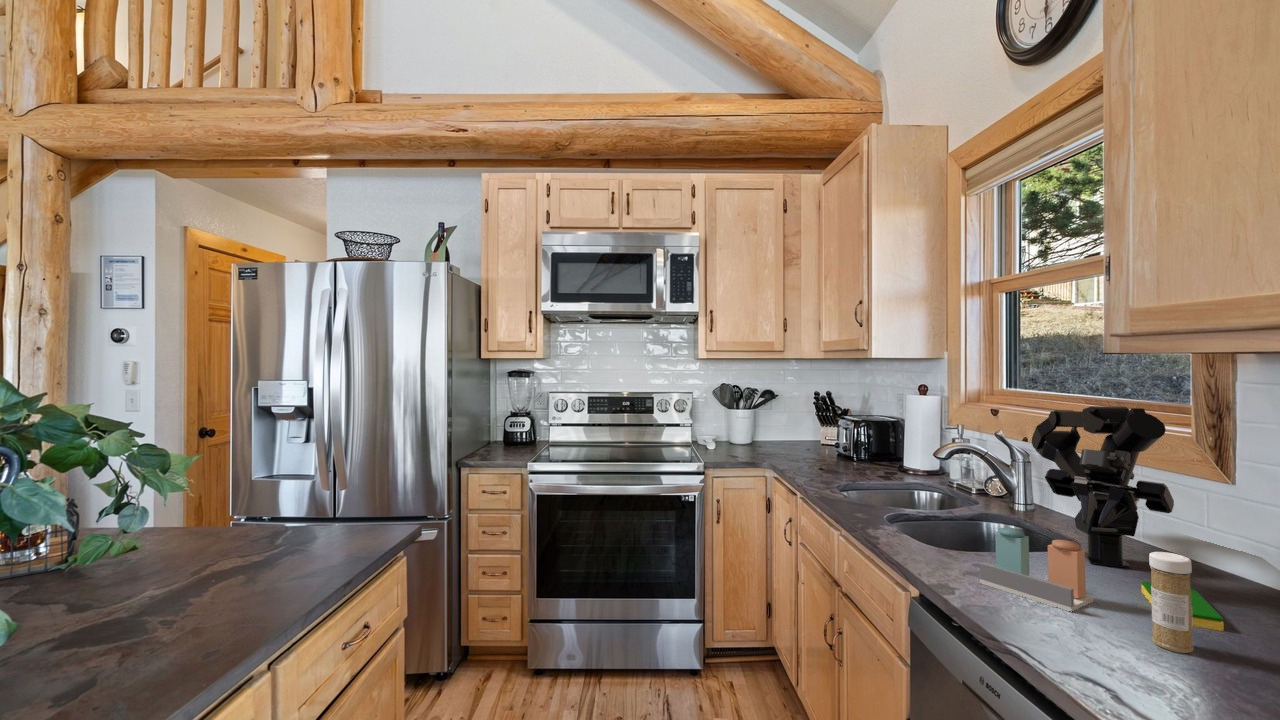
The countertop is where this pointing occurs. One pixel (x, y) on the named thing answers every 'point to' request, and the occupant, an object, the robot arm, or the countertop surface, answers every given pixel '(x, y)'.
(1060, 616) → the countertop surface
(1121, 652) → the countertop surface
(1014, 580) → the button console
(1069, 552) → the orange domed block
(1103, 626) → the countertop surface
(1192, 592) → the dish sponge
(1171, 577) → the sprinkles bottle
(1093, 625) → the countertop surface
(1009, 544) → the button teal
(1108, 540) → the robot arm
